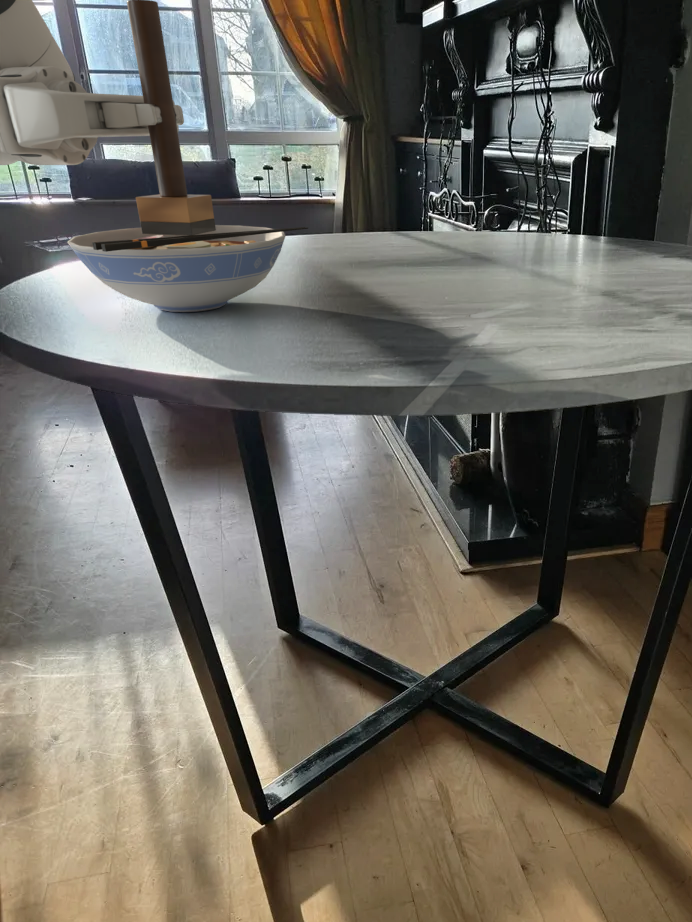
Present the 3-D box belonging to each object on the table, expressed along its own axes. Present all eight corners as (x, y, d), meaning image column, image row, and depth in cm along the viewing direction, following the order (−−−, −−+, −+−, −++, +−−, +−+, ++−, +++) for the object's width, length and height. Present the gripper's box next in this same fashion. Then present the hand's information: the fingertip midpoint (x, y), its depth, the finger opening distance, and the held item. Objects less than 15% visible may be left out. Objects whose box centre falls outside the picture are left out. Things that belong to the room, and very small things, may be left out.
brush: (142, 233, 83) (98, -1, 73) (168, 229, 87) (130, 6, 77) (192, 235, 82) (155, -4, 71) (216, 230, 86) (184, 4, 76)
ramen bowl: (228, 281, 103) (218, 212, 99) (341, 303, 90) (335, 225, 86) (38, 309, 87) (16, 229, 83) (141, 341, 74) (122, 247, 70)
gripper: (118, 148, 92) (223, 148, 89) (-10, 154, 75) (116, 154, 72) (105, 85, 89) (214, 81, 86) (-32, 76, 72) (99, 71, 69)
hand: (168, 114), depth 79 cm, fingers closed on brush, 3 cm apart
